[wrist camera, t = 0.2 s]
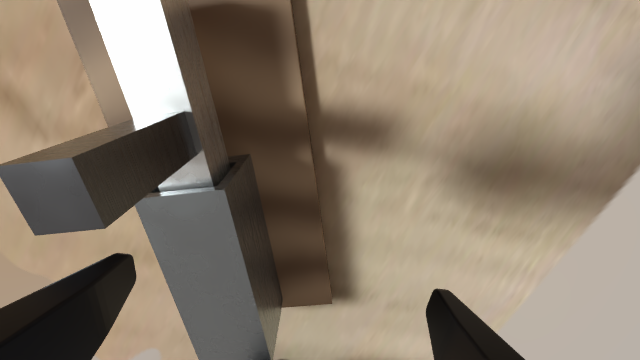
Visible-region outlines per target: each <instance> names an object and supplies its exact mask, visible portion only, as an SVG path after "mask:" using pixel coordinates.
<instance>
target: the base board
mask: <svg viewBox="0 0 640 360" xmlns="http://www.w3.org/2000/svg"><path fill="white" fill-rule="evenodd" d="M187 1H188V5H189V9H190V13H191V17H192V21H193V25H194V28H195V32H196V36H197V40H198V44H199V48H200V52H201V56H202V60H203V63H204V67H205V71H206V75H207V79H208V83H209V87H210V91H211V95H212V99H213V102H214V106H215V110H216V114H217V118H218V122H219V126H220V130H221V134H222V137H223V141H224V145H225V149H226V153H227V157H229V156H238V155H246V154H251V158H252V163H253V167H254V172H255V176H256V181H257V185H258V190H259V194H260V199H261V203H262V207H263V212H264V216H265V221H266V225H267V230H268V234H269V239H270V243H271V248H272V252H273V257H274V261H275V266H276V270H277V275H278V279H279V284H280V288H281V292H282V297H283V302H282V308H283V307H296V306H308V305H321V304H332V293H331V286H330V278H329V271H328V264H327V256H326V249H325V242H324V235H323V227H322V220H321V213H320V205H319V198H318V191H317V184H316V176H315V169H314V162H313V154H312V147H311V140H310V133H309V125H308V118H307V111H306V103H305V96H304V89H303V82H302V74H301V67H300V60H299V52H298V45H297V38H296V30H295V23H294V16H293V9H292V1H291V0H187ZM57 2H58V5H59V7H60V10H61V12H62V15H63V17H64V19H65V22H66V24H67V27H68V29H69V32H70V34H71V37H72V39H73V42H74V44H75V46H76V49H77V51H78V54H79V56H80V59H81V61H82V64H83V66H84V69H85V71H86V74H87V76H88V78H89V81H90V83H91V86H92V88H93V91H94V93H95V96H96V98H97V101H98V103H99V105H100V108H101V110H102V113H103V115H104V118H105V120H106V123H107V125H108V127H111V126H114V125H117V124H119V123H122V122H125V121H128V120H131V119H133V117H132V115H131V112H130V109H129V107H128V104H127V101H126V99H125V96H124V93H123V90H122V88H121V85H120V82H119V80H118V77H117V74H116V71H115V69H114V66H113V63H112V61H111V58H110V55H109V53H108V50H107V47H106V44H105V42H104V39H103V36H102V34H101V31H100V28H99V25H98V23H97V20H96V17H95V15H94V12H93V9H92V7H91V4H90V1H89V0H57Z"/></svg>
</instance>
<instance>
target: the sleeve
mask: <svg viewBox="0 0 640 360" xmlns="http://www.w3.org/2000/svg"><path fill="white" fill-rule="evenodd" d="M228 161H229V165H230V169H231V170H230V171H229V172H228V174H227V175H226V176H225V177H224V179H223V180H222V181H221V182H220V183H219V185H218V186H214V187H205V188H195V189H186V190H176V191H167V192H160V191H159V188H158V187H157V188H155V189H154V190H153V191H152V192H150V193H149V194H148V195H147V196H145V197H144V198H143V199H142V200H140V201H139V202H138V203H137V204H135V207H136V209H137V212H138V214H139V217H140V219H141V221H142V224H143V226H144V229H145V231H146V233H147V236H148V238H149V241H150V243H151V246H152V248H153V250H154V253H155V255H156V258H157V260H158V262H159V265H160V267H161V270H162V272H163V274H164V277H165V279H166V282H167V284H168V287H169V289H170V291H171V294H172V296H173V299H174V301H175V303H176V306H177V308H178V311H179V313H180V315H181V318H182V320H183V323H184V325H185V328H186V330H187V332H188V335H189V337H190V340H191V342H192V344H193V347H194V349H195V352H196V354H197V356H198V359H199V360H273V355H274V349H275V344H276V338H277V332H278V326H279V320H280V314H281V308H282V302H283V297H282V292H281V288H280V284H279V279H278V275H277V270H276V266H275V261H274V257H273V252H272V248H271V243H270V239H269V234H268V230H267V225H266V221H265V216H264V212H263V207H262V203H261V199H260V194H259V190H258V185H257V181H256V176H255V172H254V167H253V163H252V158H251V154H246V155H238V156H229V157H228Z"/></svg>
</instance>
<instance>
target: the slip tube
mask: <svg viewBox="0 0 640 360" xmlns="http://www.w3.org/2000/svg"><path fill="white" fill-rule="evenodd" d="M89 1H90V4H91V7H92V9H93V12H94V15H95V17H96V20H97V23H98V25H99V28H100V31H101V34H102V36H103V39H104V42H105V44H106V47H107V50H108V53H109V55H110V58H111V61H112V63H113V66H114V69H115V71H116V74H117V77H118V80H119V82H120V85H121V88H122V90H123V93H124V96H125V99H126V101H127V104H128V107H129V109H130V112H131V115H132V117H133V119H131V120H128V121H125V122H122V123H119V124H117V125H114V126H111V127H108V128H105V129H102V130H99V131H96V132H93V133H90V134H87V135H85V136H82V137H79V138H76V139H73V140H70V141H67V142H64V143H61V144H58V145H55V146H53V147H50V148H47V149H44V150H41V151H38V152H35V153H32V154H29V155H26V156H23V157H21V158H18V159H15V160H12V161H9V162H6V163H3V164H0V177H1V179H2V181H3V182H4V184H5V186H6V187H7V189H8V191H9V193H10V194H11V196H12V198H13V199H14V201H15V203H16V204H17V206H18V208H19V209H20V211H21V213H22V215H23V216H24V218H25V220H26V221H27V223H28V225H29V226H30V228H31V230H32V231H33V233H34V235H46V234H56V233H66V232H76V231H86V230H96V229H105V228H107V227H108V226H109V225H110V224H112V223H113V222H114V221H115V220H117V219H118V218H119V217H120V216H122V215H123V214H124V213H125V212H127V211H128V210H129V209H130V208H132V207H133V206H134V205H135V204H137V203H138V202H139V201H140V200H142V199H143V198H144V197H145V196H147V195H148V194H149V193H150V192H152V191H153V190H154V189H155V188H157V187H158V188H159V191H160V192H167V191H176V190H186V189H195V188H205V187H214V186H218V185H219V183H220V182H221V181H222V180H223V179H224V177H225V176H226V175H227V174H228V172H229V171H230V170H231V169H230V165H229V161H228V157H227V153H226V149H225V145H224V141H223V137H222V134H221V130H220V126H219V122H218V118H217V114H216V110H215V106H214V102H213V99H212V95H211V91H210V87H209V83H208V79H207V75H206V71H205V67H204V63H203V60H202V56H201V52H200V48H199V44H198V40H197V36H196V32H195V28H194V25H193V21H192V17H191V13H190V9H189V5H188V1H187V0H89Z"/></svg>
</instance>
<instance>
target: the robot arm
mask: <svg viewBox="0 0 640 360" xmlns="http://www.w3.org/2000/svg"><path fill="white" fill-rule="evenodd" d="M135 281H136V271H135V265H134V260H133V257H132V255H130V254H123V253H115V254H113V255H111V256H109V257H106V258H104V259H102V260H100V261H98V262H96V263H94V264H92V265H90V266H88V267H86V268H84V269H81V270H79V271H77V272H75V273H73V274H71V275H69V276H67V277H65V278H63V279H61V280H59V281H57V282H54V283H52V284H50V285H48V286H46V287H44V288H42V289H40V290H38V291H36V292H34V293H32V294H30V295H27V296H25V297H23V298H21V299H19V300H17V301H15V302H13V303H11V304H9V305H7V306H5V307H2V308H0V360H91V359H92V358H93V356H94V355H95V353H96V352H97V350H98V349H99V347H100V346H101V344H102V343H103V341H104V339H105V338H106V336H107V335H108V333H109V331H110V329H111V328H112V326H113V324H114V322H115V320H116V318H117V316H118V314H119V312H120V311H121V309H122V307H123V305H124V303H125V301H126V299H127V297H128V295H129V294H130V292H131V290H132V288H133V286H134V284H135ZM426 318H427V323H428V328H429V334H430V339H431V345H432V350H433V355H434V360H525V359H524V358H523V357H522V356H520V355H519V354H518V353H517V352H516V351H515V350H514V349H513V348H512V347H510V345H508V344H507V343H506V342H505V341H504V340H503V339H502V338H501V337H500V336H499V335H498V334H496V333H495V332H494V331H493V330H492V329H491V328H490V327H489V326H488V325H487V324H485V323H484V322H483V321H482V320H481V319H480V318H479V317H478V316H477V315H476V314H474V313H473V312H472V311H471V310H470V309H469V308H468V307H467V306H466V305H465V304H464V303H462V302H461V301H460V300H459V299H458V298H457V297H456V296H455V295H454V294H453V293H451V292H450V291H449V290H445V289H434V290H433V292H432V295H431V297H430V300H429V302H428V305H427V308H426Z"/></svg>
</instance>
